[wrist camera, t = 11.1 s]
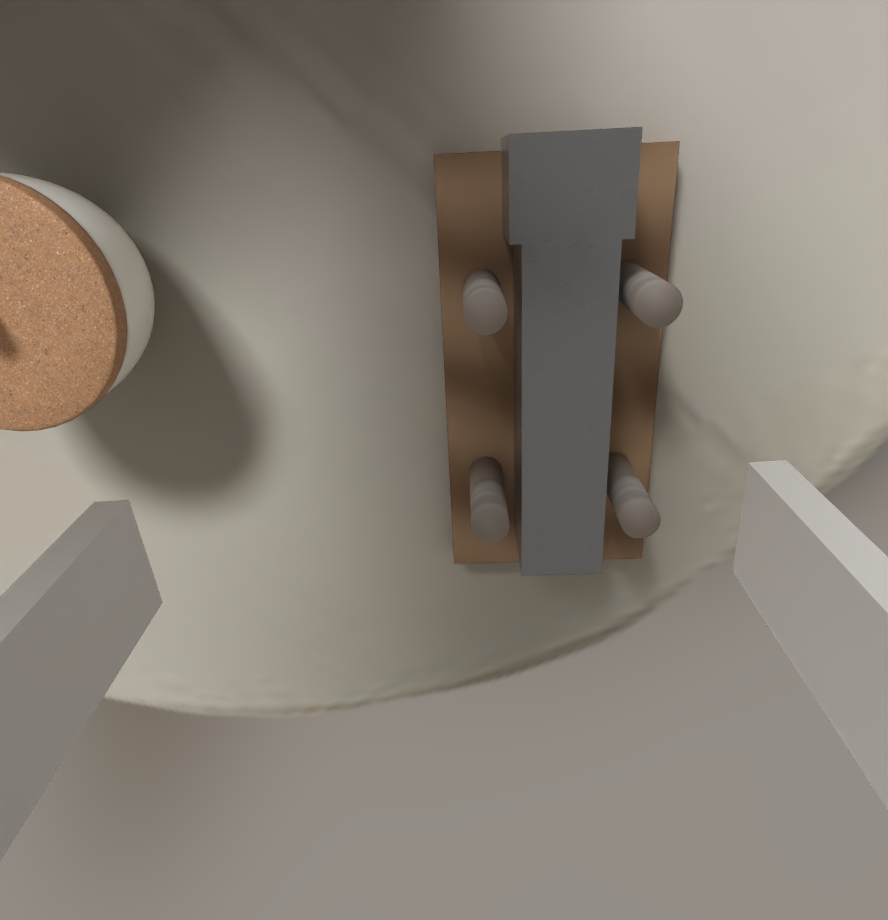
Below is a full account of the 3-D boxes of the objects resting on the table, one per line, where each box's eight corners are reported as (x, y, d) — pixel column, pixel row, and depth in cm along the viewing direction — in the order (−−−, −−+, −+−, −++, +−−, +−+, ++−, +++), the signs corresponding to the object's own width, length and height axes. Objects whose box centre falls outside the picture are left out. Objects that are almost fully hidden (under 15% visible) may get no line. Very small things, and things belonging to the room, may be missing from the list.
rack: (434, 154, 31) (427, 152, 24) (669, 142, 30) (730, 136, 24) (454, 549, 40) (453, 629, 33) (635, 544, 40) (671, 624, 33)
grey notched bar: (501, 138, 29) (508, 134, 25) (613, 132, 29) (642, 126, 24) (505, 525, 37) (511, 575, 33) (593, 522, 37) (611, 572, 33)
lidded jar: (111, 417, 37) (6, 494, 28) (-62, 276, 34) (-238, 314, 25) (229, 285, 34) (152, 326, 25) (50, 115, 31) (-107, 96, 22)
